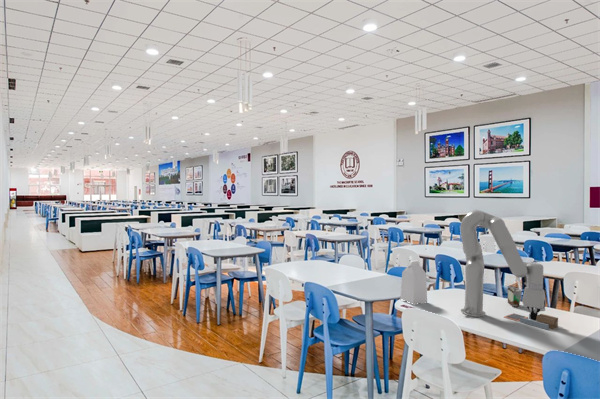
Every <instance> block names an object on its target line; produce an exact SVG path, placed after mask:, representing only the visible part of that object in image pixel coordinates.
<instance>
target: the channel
mask: <svg viewBox="0 0 600 399" xmlns="http://www.w3.org/2000/svg"><path fill="white" fill-rule="evenodd" d="M519 323H522V324H525V325H529V326H533V327H536V328H540V329H544V330H547V331H548V330H549V329H550V328H549V325H548V324H544V323H540V322H537V321H536V320H531V317H530V313H529V314H528V318H522V317H520V321H519Z"/></svg>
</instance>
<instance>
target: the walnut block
mask: <svg viewBox="0 0 600 399" xmlns="http://www.w3.org/2000/svg"><path fill="white" fill-rule="evenodd" d="M536 321H537V322H540V323H544V324H548V325H549V329H550V330H555V329H557V328H558V326H559V317H555V316H552V315H548V314H544V313H540V314H538V315H537V318H536Z"/></svg>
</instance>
